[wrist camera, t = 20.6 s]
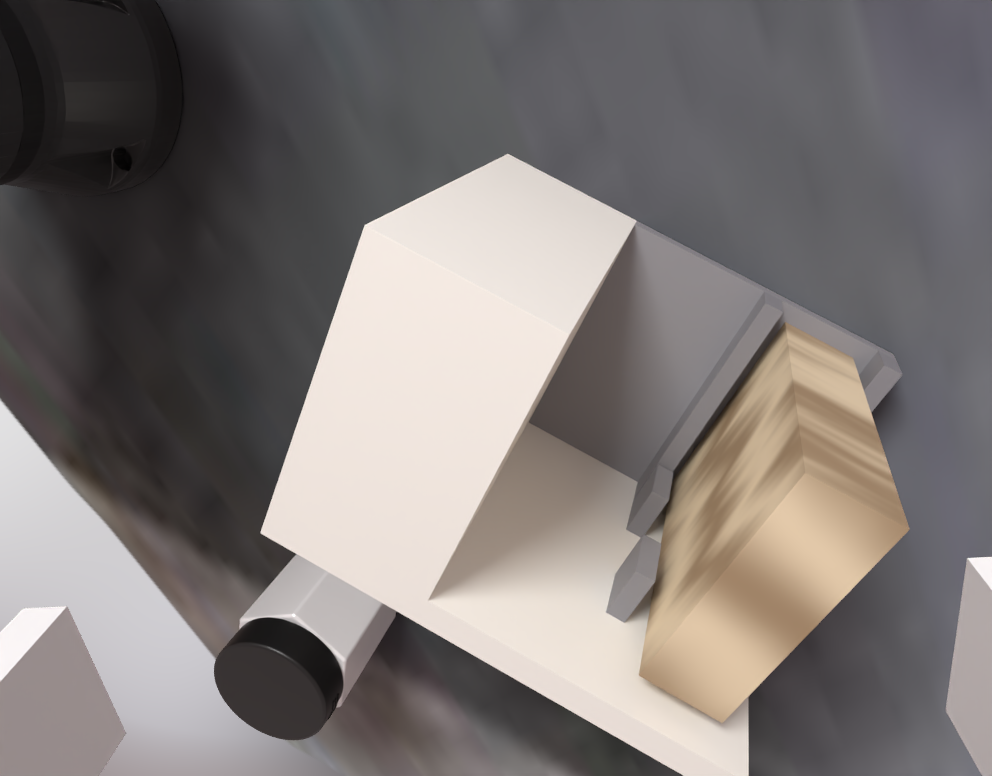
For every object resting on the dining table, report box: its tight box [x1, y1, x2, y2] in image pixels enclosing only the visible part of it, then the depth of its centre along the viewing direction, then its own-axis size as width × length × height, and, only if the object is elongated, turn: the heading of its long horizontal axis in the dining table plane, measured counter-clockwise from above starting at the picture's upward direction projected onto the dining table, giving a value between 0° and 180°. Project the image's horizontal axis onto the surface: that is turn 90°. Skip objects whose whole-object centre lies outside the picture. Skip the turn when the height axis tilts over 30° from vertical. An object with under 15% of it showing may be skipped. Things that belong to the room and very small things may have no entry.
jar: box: [214, 554, 396, 740], centre depth 53 cm, size 9×8×12 cm
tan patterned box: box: [639, 322, 909, 723], centre depth 36 cm, size 12×4×16 cm, turn 155°
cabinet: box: [260, 154, 903, 776], centre depth 37 cm, size 16×23×18 cm, turn 65°
